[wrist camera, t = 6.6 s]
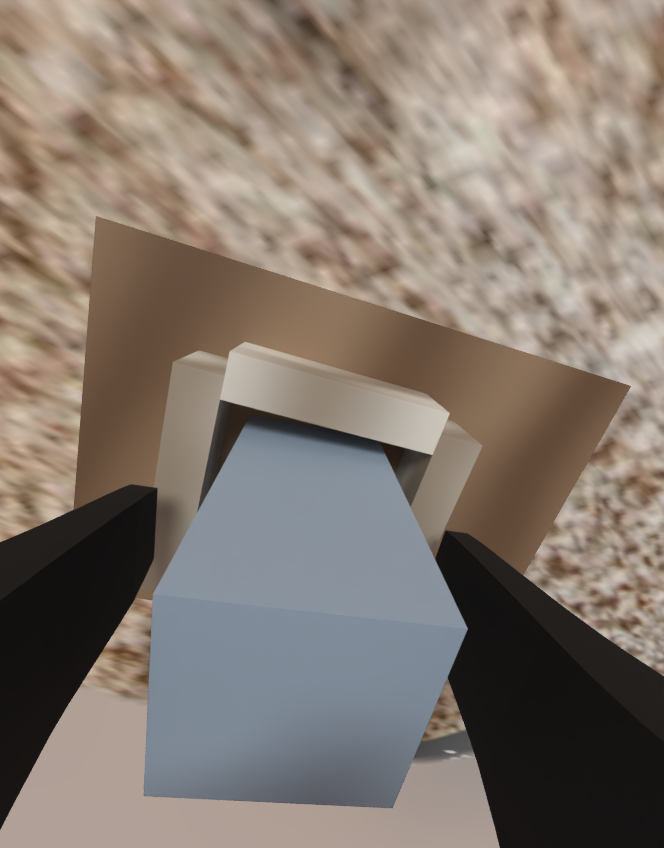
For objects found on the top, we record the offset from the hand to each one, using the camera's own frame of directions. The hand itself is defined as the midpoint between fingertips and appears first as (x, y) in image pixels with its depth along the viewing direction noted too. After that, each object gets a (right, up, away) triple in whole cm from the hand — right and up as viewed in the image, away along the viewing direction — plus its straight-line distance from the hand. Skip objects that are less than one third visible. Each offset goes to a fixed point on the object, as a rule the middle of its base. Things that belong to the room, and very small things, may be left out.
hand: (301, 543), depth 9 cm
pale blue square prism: (0, +1, +3) cm, 3 cm away
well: (0, +1, +3) cm, 4 cm away
